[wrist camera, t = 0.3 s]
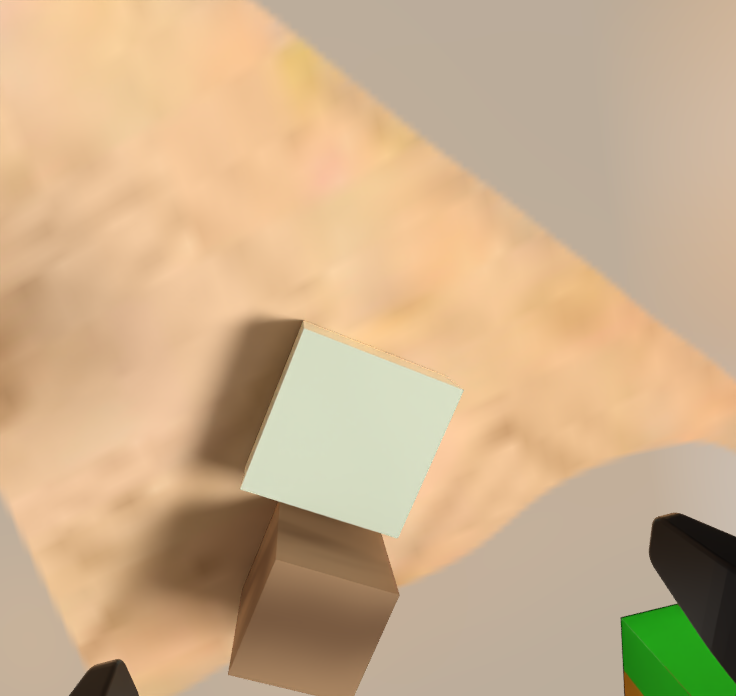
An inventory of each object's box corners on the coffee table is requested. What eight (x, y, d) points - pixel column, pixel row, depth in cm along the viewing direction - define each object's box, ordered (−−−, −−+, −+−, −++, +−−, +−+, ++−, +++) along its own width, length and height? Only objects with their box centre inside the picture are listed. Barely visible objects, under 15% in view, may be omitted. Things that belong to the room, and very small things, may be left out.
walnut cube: (339, 615, 25) (350, 703, 20) (242, 588, 24) (227, 674, 19) (379, 526, 24) (399, 595, 19) (280, 495, 23) (275, 559, 18)
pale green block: (387, 509, 24) (397, 538, 21) (246, 464, 23) (239, 489, 20) (446, 375, 23) (463, 390, 21) (303, 320, 22) (304, 328, 19)
